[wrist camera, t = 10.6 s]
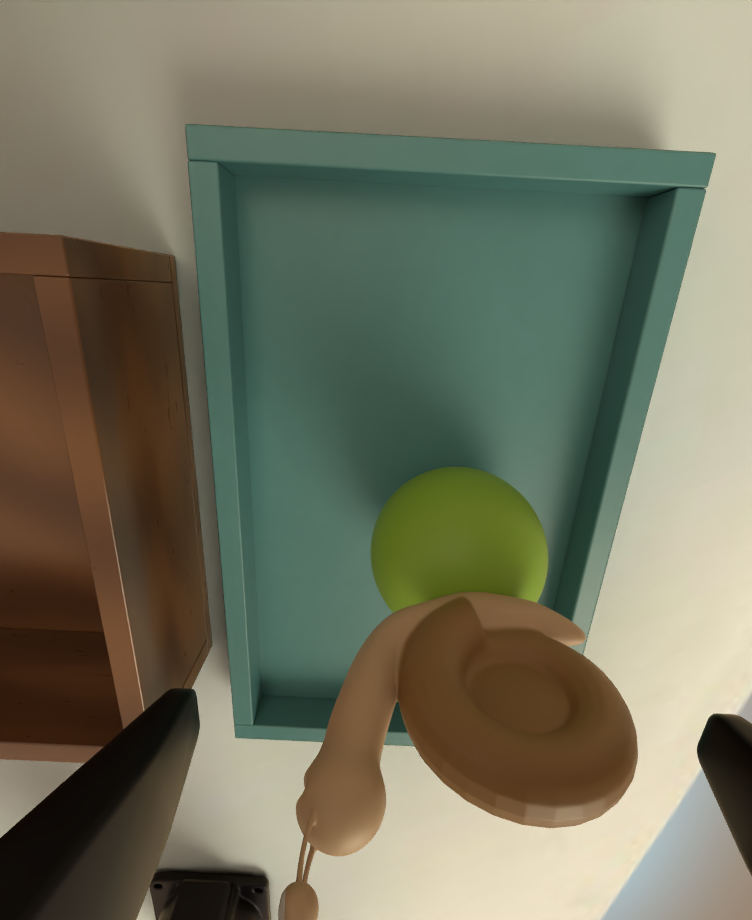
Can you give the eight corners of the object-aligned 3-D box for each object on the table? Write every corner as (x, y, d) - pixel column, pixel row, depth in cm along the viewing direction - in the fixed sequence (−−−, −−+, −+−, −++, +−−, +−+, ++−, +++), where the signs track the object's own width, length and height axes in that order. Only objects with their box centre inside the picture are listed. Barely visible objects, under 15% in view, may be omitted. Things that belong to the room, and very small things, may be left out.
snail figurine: (345, 442, 16) (253, 806, 5) (527, 445, 16) (887, 820, 5) (346, 573, 18) (284, 1058, 6) (509, 576, 18) (732, 1070, 6)
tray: (541, 712, 21) (557, 753, 19) (248, 698, 21) (234, 738, 19) (671, 171, 13) (717, 152, 11) (211, 147, 13) (183, 122, 11)
